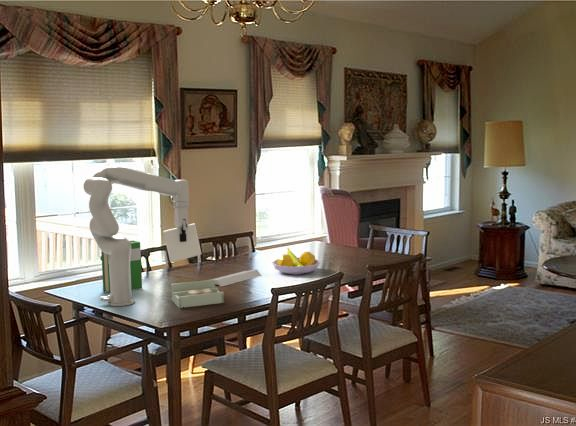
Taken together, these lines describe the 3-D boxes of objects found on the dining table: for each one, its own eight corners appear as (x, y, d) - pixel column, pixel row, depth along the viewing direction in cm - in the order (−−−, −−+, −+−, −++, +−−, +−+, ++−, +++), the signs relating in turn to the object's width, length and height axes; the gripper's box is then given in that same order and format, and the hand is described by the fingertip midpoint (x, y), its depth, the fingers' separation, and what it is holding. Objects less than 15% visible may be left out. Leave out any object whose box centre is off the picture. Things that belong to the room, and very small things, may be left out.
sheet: (170, 262, 331) (164, 231, 328) (170, 261, 333) (163, 231, 330) (201, 254, 337) (195, 223, 334) (200, 253, 339) (194, 223, 336)
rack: (179, 307, 303) (178, 290, 302) (171, 300, 316) (171, 283, 315) (223, 302, 311) (223, 285, 310) (214, 295, 324) (214, 279, 323)
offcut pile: (189, 306, 306) (188, 293, 305) (185, 303, 311) (185, 290, 311) (214, 303, 310) (214, 290, 310) (210, 300, 316) (210, 288, 315)
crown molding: (245, 274, 375) (245, 267, 375) (261, 276, 368) (261, 270, 367) (205, 284, 351) (205, 277, 350) (221, 287, 343) (221, 280, 343)
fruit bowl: (321, 276, 362) (320, 256, 361) (271, 277, 363) (270, 256, 361) (319, 266, 390) (319, 247, 389) (273, 267, 391) (272, 247, 389)
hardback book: (109, 294, 331) (107, 246, 328) (103, 291, 337) (100, 244, 334) (142, 288, 342) (140, 242, 339) (135, 285, 348) (133, 240, 345)
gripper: (170, 203, 337) (171, 239, 339) (177, 206, 322) (178, 244, 325) (184, 202, 340) (185, 238, 342) (192, 205, 325) (194, 243, 327)
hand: (182, 241), depth 333 cm, fingers closed on sheet, 2 cm apart
